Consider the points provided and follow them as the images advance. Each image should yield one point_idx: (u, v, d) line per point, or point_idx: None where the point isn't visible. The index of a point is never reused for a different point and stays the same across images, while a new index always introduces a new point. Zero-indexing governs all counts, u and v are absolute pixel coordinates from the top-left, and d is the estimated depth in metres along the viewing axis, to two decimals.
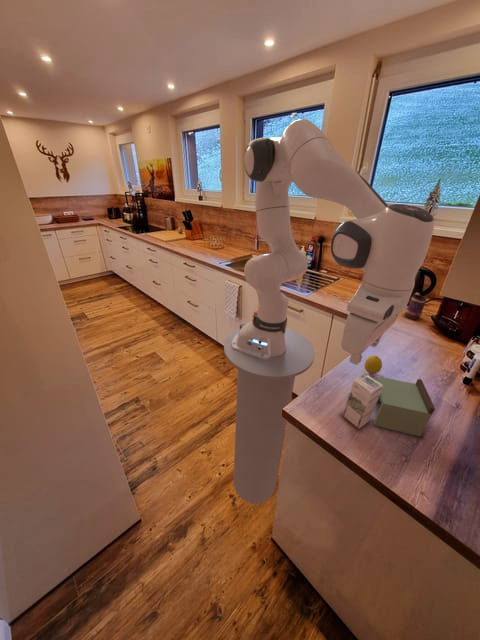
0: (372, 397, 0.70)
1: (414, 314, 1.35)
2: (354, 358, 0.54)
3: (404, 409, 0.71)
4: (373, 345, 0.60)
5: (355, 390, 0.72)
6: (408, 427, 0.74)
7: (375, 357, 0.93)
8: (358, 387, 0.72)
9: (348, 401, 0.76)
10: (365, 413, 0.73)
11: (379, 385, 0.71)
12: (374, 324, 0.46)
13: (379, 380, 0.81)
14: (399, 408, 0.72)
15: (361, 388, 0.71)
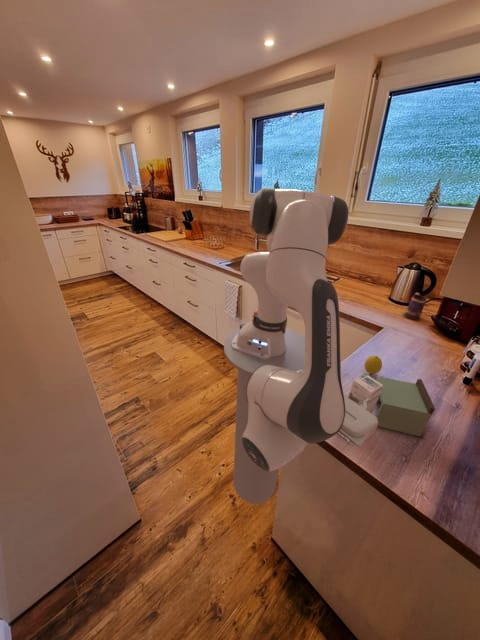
0: (372, 397, 0.70)
1: (414, 314, 1.35)
2: None
3: (404, 409, 0.71)
4: None
5: (355, 390, 0.72)
6: (408, 427, 0.74)
7: (375, 357, 0.93)
8: (358, 387, 0.72)
9: None
10: None
11: (379, 385, 0.71)
12: None
13: (379, 380, 0.81)
14: (399, 408, 0.72)
15: (361, 388, 0.71)
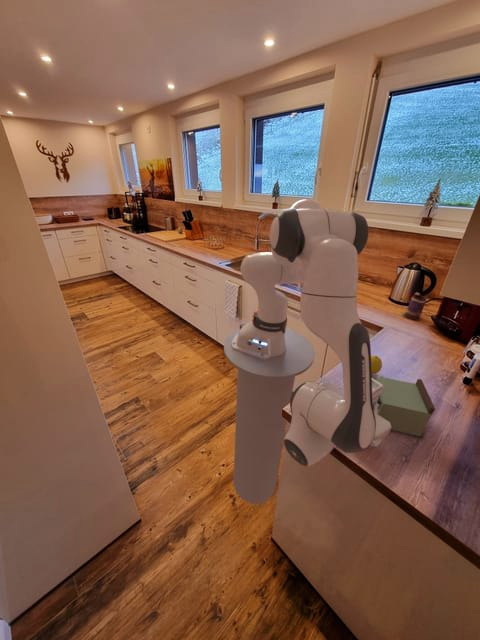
0: (372, 397, 0.70)
1: (414, 314, 1.35)
2: None
3: (404, 409, 0.71)
4: None
5: None
6: (408, 427, 0.74)
7: (375, 357, 0.93)
8: None
9: None
10: None
11: (379, 385, 0.71)
12: None
13: (379, 380, 0.81)
14: (399, 408, 0.72)
15: None
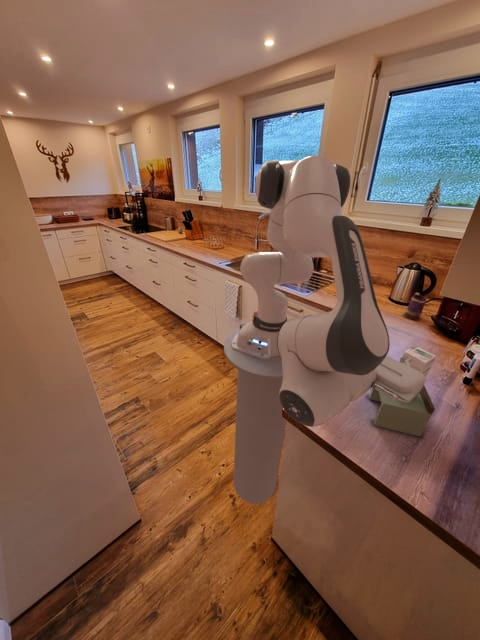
0: (425, 369, 0.67)
1: (414, 314, 1.35)
2: None
3: (404, 409, 0.71)
4: None
5: None
6: (408, 427, 0.74)
7: None
8: None
9: None
10: None
11: (432, 356, 0.68)
12: None
13: None
14: (399, 408, 0.72)
15: (414, 359, 0.68)
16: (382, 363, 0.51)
